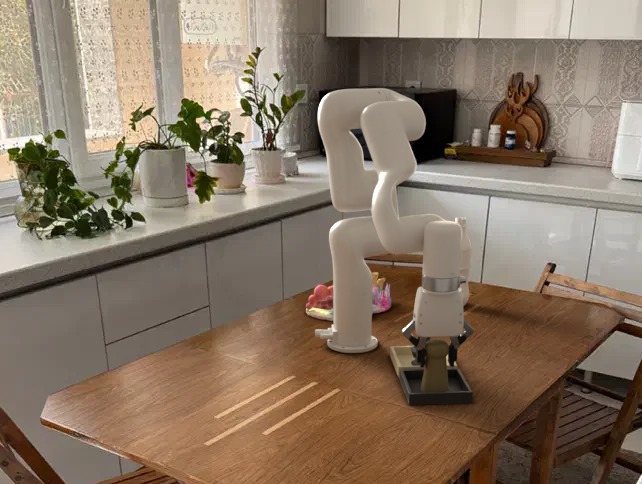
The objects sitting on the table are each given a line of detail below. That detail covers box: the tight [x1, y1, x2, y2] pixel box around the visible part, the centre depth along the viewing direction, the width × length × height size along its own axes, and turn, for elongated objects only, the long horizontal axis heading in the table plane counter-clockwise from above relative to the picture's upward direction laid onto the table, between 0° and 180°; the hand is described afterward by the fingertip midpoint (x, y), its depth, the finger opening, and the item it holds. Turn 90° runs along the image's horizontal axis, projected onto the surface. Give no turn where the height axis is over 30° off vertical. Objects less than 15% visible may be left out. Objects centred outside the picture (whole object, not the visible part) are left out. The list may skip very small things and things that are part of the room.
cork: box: [421, 339, 450, 392], centre depth 167 cm, size 6×6×11 cm
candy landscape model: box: [305, 271, 392, 322], centre depth 222 cm, size 25×24×9 cm
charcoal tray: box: [398, 367, 474, 406], centre depth 169 cm, size 13×13×2 cm
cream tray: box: [389, 345, 458, 378], centre depth 183 cm, size 13×13×2 cm
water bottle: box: [454, 216, 473, 307], centre depth 221 cm, size 7×7×25 cm
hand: (436, 364), depth 167 cm, fingers open, 5 cm apart
